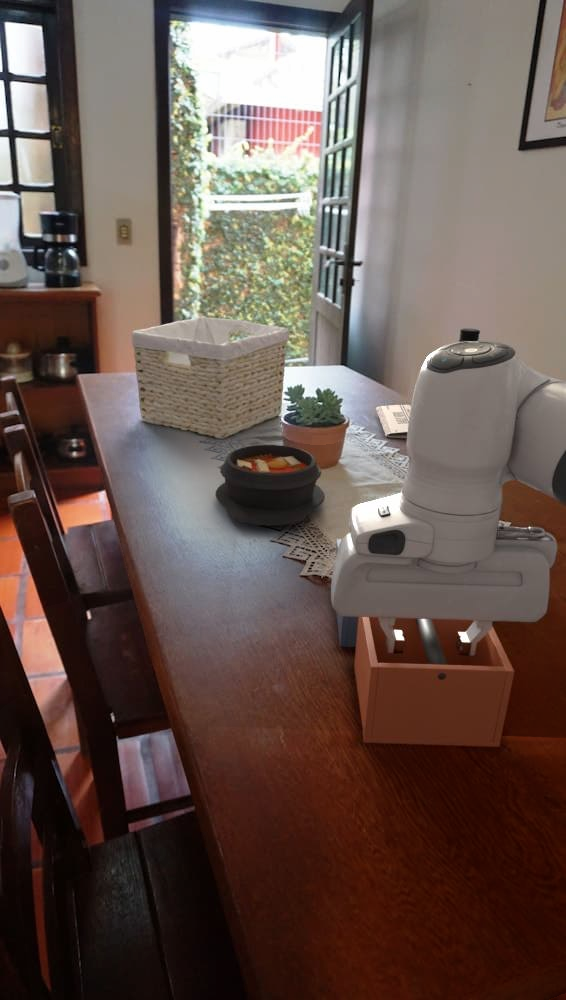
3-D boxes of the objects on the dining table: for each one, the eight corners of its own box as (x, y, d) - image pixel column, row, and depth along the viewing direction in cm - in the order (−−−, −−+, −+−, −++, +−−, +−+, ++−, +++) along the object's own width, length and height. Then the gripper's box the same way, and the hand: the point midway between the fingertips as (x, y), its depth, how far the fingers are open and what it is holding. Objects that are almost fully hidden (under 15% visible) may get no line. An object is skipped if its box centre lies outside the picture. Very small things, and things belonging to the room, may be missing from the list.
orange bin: (471, 675, 75) (482, 605, 72) (499, 749, 65) (515, 672, 62) (353, 671, 75) (359, 601, 72) (363, 745, 65) (371, 667, 62)
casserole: (325, 539, 105) (328, 488, 102) (205, 533, 106) (204, 483, 102) (323, 479, 128) (325, 437, 125) (224, 475, 129) (224, 433, 125)
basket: (224, 445, 145) (224, 341, 136) (130, 422, 158) (124, 326, 149) (290, 416, 166) (293, 325, 158) (202, 398, 179) (201, 313, 170)
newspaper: (441, 440, 153) (441, 429, 152) (386, 443, 153) (386, 433, 152) (424, 411, 174) (424, 402, 172) (375, 414, 174) (375, 405, 173)
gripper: (548, 514, 65) (524, 635, 70) (334, 507, 65) (326, 629, 70) (574, 544, 59) (545, 674, 65) (338, 536, 59) (329, 667, 65)
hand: (429, 651), depth 68 cm, fingers open, 6 cm apart
